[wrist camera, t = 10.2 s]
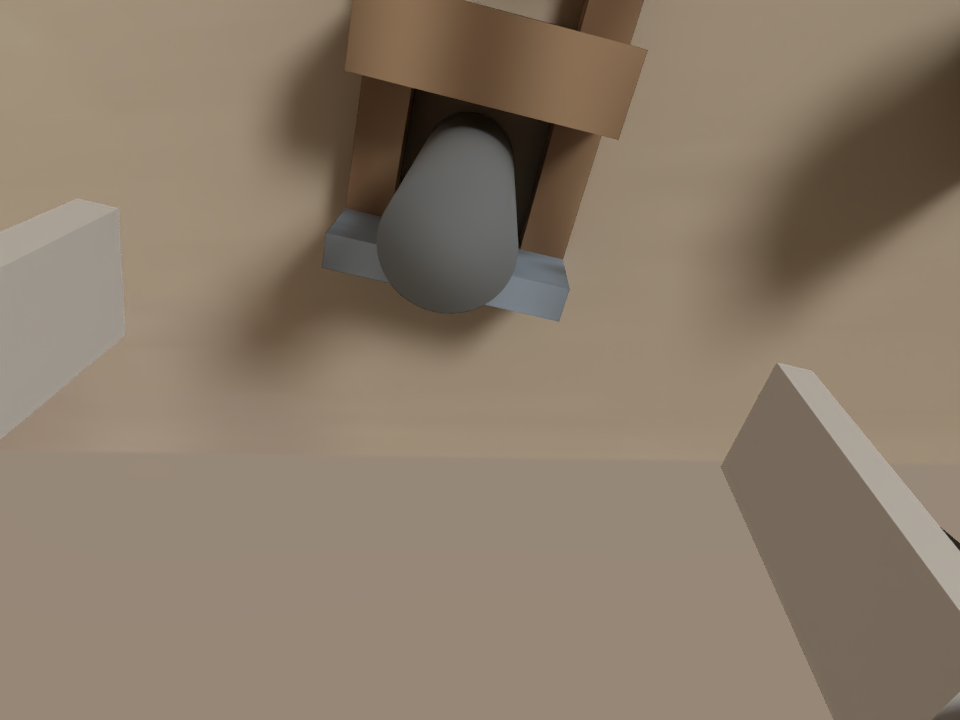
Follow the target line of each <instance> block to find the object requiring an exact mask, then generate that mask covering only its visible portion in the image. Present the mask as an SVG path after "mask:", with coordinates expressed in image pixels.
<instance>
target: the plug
mask: <svg viewBox="0 0 960 720" xmlns="http://www.w3.org/2000/svg"><path fill="white" fill-rule="evenodd" d="M376 243H377V254H378V259H379V262H380V265H381V268H382V270H383V272H384V274H385V276H386V278H387V279H388V281H389V283H390V284H391V285H392V286H393V287H394V289H395V290H396V291H397V292H398V293H399V294H400V295H401V296H403V297H404V298H405V299H407V300H408V301H410V302H411V303H413V304H415V305H417V306H419V307H421V308H424V309H426V310H430V311H433V312H439V313H462V312H467V311H470V310H473V309H476V308H479V307H481V306H483V305H485V304H486V303H488V302H490V301H491V300H492V299H494V298H495V297H496V296H497V295H498V294H499V293H500V292H501V291H502V290H503V289H504V288H505V286H506V285H507V284H508V282H509V280H510V279H511V277H512V275H513V272H514V270H515V267H516V263H517V258H518V230H517V213H516V195H515V177H514V160H513V150H512V145H511V143H510V140H509V138H508V136H507V134H506V133H505V131H504V130H503V129H502V127H501V126H500V125H499V124H498V123H497V122H495V121H494V120H492V119H491V118H489V117H487V116H485V115H482V114H479V113H474V112H462V113H457V114H454V115H451V116H449V117H447V118H445V119H444V120H442V121H441V122H440V123H439V124H438V125H437V126H436V127H435V128H434V129H433V131H432V132H431V134H430V135H429V137H428V139H427V140H426V142H425V144H424V145H423V147H422V149H421V151H420V152H419V154H418V156H417V157H416V159H415V161H414V162H413V164H412V166H411V167H410V169H409V171H408V172H407V174H406V176H405V178H404V179H403V181H402V183H401V184H400V186H399V188H398V189H397V191H396V193H395V194H394V196H393V198H392V199H391V201H390V203H389V205H388V206H387V208H386V210H385V212H384V213H383V215H382V218H381V220H380V223H379V227H378V231H377V240H376Z"/></svg>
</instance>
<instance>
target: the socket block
mask: <svg viewBox="0 0 960 720" xmlns="http://www.w3.org/2000/svg"><path fill="white" fill-rule="evenodd" d="M643 2H644V0H585V1H584V5H583V8H582V12H581V16H580V19H579V23H578V27H577V30H573V29H569V28H566V27H562V26H558V25H554V24H551V23H547V22H543V21H539V20H536V19H532V18H528V17H524V16H521V15H517V14H513V13H509V12H506V11H502V10H498V9H494V8H490V7H487V6H483V5H479V4H475V3H472V2H468V1H464V0H353V1H352V10H351V19H350V27H349V36H348V45H347V53H346V62H345V71H348V72H352V73H356V74H360V75H363V76H362V83H361V91H360V99H359V107H358V115H357V123H356V130H355V138H354V146H353V154H352V162H351V169H350V177H349V185H348V193H347V201H346V208H345V210H344V211H343V212H342V213H341V215H340V216H339V217H338V218H337V220H336V221H335V222H334V223H333V225H332V226H331V227H330V228H329V230H328V231H327V232H326V237H325V245H324V254H323V263H322V268H325V269H330V270H334V271H339V272H343V273H347V274H352V275H356V276H361V277H365V278H369V279H374V280H378V281H383V282H387V283H389V281H388V279H387V278H386V276H385V274H384V272H383V270H382V268H381V265H380V262H379V259H378V254H377V243H376V240H377V231H378V227H379V223H380V220H381V218H382V215H383V213H384V212H385V210H386V208H387V206H388V205H389V203H390V201H391V199H392V198H393V196H394V194H395V193H396V191H397V189H398V188H399V183H400V177H401V171H402V165H403V159H404V153H405V147H406V141H407V135H408V129H409V123H410V117H411V111H412V105H413V100H414V94H415V89H419V90H423V91H427V92H431V93H435V94H439V95H443V96H447V97H451V98H455V99H459V100H463V101H467V102H471V103H475V104H478V105H482V106H486V107H490V108H494V109H498V110H502V111H506V112H510V113H514V114H518V115H522V116H526V117H530V118H534V119H538V120H542V121H546V122H550V123H551V126H550V129H549V133H548V137H547V140H546V144H545V148H544V151H543V155H542V159H541V162H540V166H539V170H538V174H537V177H536V181H535V185H534V188H533V192H532V196H531V199H530V203H529V207H528V210H527V214H526V218H525V221H524V225H523V229H522V232H521V236H520V239H518V258H517V263H516V267H515V270H514V272H513V275H512V277H511V279H510V280H509V282H508V284H507V285H506V286H505V288H504V289H503V290H502V291H501V292H500V293H499V294H498V295H497V296H496V297H495V298H494V299H492V300H491V301H490V302H488V303H486V304H485V305H488V306H493V307H497V308H501V309H506V310H510V311H515V312H519V313H524V314H528V315H532V316H537V317H541V318H546V319H550V320H554V321H559V320H560V317H561V314H562V311H563V308H564V305H565V302H566V299H567V296H568V293H569V290H570V289H569V284H568V280H567V276H566V271H565V267H564V262H563V257H564V254H565V251H566V248H567V244H568V241H569V238H570V235H571V232H572V228H573V225H574V222H575V219H576V216H577V213H578V209H579V206H580V203H581V200H582V197H583V193H584V190H585V187H586V184H587V181H588V177H589V174H590V171H591V168H592V165H593V161H594V158H595V155H596V152H597V149H598V145H599V142H600V139H601V136H605V137H609V138H613V139H617V140H619V137H620V134H621V130H622V127H623V124H624V121H625V118H626V115H627V112H628V109H629V106H630V103H631V100H632V97H633V94H634V91H635V88H636V85H637V81H638V78H639V75H640V72H641V69H642V66H643V63H644V60H645V57H646V54H647V51H648V50H646V49H642V48H639V47H636V46H632V45H630V43H631V40H632V37H633V34H634V30H635V27H636V24H637V21H638V18H639V14H640V11H641V8H642V5H643Z"/></svg>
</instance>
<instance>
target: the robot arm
mask: <svg viewBox="0 0 960 720" xmlns="http://www.w3.org/2000/svg"><path fill="white" fill-rule="evenodd" d="M125 335H126V333H125V314H124V295H123V277H122V258H121V239H120V220H119V208H116V207H112V206H108V205H103V204H99V203H95V202H91V201H86V200H82V199H78V198H77V199H75V200H73V201H70V202H68V203H66V204H63V205H61V206H59V207H56V208H54V209H52V210H50V211H47V212H45V213H43V214H40V215H38V216H36V217H33V218H31V219H29V220H26V221H24V222H22V223H19V224H17V225H15V226H13V227H10V228H8V229H6V230H3V231H1V232H0V440H1V439H2V438H3V437H4V436H5V435H7V434H8V433H9V432H10V431H11V430H13V429H14V428H15V427H16V426H17V425H19V424H20V423H21V422H22V421H23V420H25V419H26V418H27V417H28V416H29V415H31V414H32V413H33V412H34V411H35V410H37V409H38V408H39V407H40V406H41V405H43V404H44V403H45V402H46V401H47V400H49V399H50V398H51V397H52V396H53V395H55V394H56V393H57V392H58V391H59V390H61V389H62V388H63V387H64V386H65V385H66V384H68V383H69V382H70V381H71V380H72V379H74V378H75V377H76V376H77V375H78V374H80V373H81V372H82V371H83V370H84V369H86V368H87V367H88V366H89V365H90V364H92V363H93V362H94V361H95V360H96V359H98V358H99V357H100V356H101V355H102V354H104V353H105V352H106V351H107V350H108V349H110V348H111V347H112V346H113V345H114V344H116V343H117V342H118V341H119V340H120V339H122V338H123V337H124V336H125ZM721 469H722V471H723V473H724V475H725V478H726V480H727V482H728V484H729V486H730V489H731V491H732V493H733V495H734V498H735V500H736V502H737V504H738V506H739V509H740V511H741V513H742V515H743V518H744V520H745V522H746V524H747V527H748V529H749V531H750V533H751V536H752V538H753V540H754V542H755V545H756V547H757V549H758V551H759V554H760V556H761V558H762V560H763V562H764V565H765V567H766V569H767V572H768V574H769V576H770V578H771V580H772V583H773V585H774V587H775V589H776V592H777V594H778V596H779V598H780V600H781V603H782V605H783V607H784V610H785V612H786V614H787V616H788V619H789V621H790V623H791V625H792V627H793V630H794V632H795V634H796V636H797V639H798V641H799V643H800V645H801V648H802V650H803V652H804V654H805V657H806V659H807V661H808V663H809V666H810V668H811V670H812V672H813V675H814V677H815V679H816V681H817V683H818V686H819V688H820V690H821V693H822V695H823V697H824V699H825V701H826V704H827V706H828V708H829V710H830V713H831V715H832V717H833V719H834V720H960V543H959V542H958V541H956V540H955V539H954V538H953V537H951V536H950V535H949V534H948V533H947V532H946V531H945V530H943V529H942V528H941V527H940V526H939V525H938V524H937V523H936V521H935V520H934V519H933V518H932V517H931V515H930V514H929V513H928V512H927V510H926V509H925V508H924V507H923V506H922V504H921V503H920V502H919V501H918V500H917V498H916V497H915V496H914V495H913V493H912V492H911V491H910V490H909V489H908V487H907V486H906V485H905V484H904V482H903V481H902V480H901V479H900V478H899V476H898V475H897V474H896V473H895V471H894V470H893V469H892V468H891V466H890V465H889V464H888V463H887V462H886V460H885V459H884V458H883V457H882V455H881V454H880V453H879V452H878V451H877V449H876V448H875V447H874V446H873V444H872V443H871V442H870V441H869V440H868V438H867V437H866V436H865V435H864V433H863V432H862V431H861V430H860V429H859V427H858V426H857V425H856V424H855V422H854V421H853V420H852V419H851V418H850V416H849V415H848V414H847V413H846V411H845V410H844V409H843V408H842V407H841V405H840V404H839V403H838V402H837V400H836V399H835V398H834V397H833V396H832V394H831V393H830V392H829V391H828V389H827V388H826V387H825V386H824V385H823V383H822V382H821V381H820V380H819V378H818V377H817V376H816V375H815V374H814V372H813V371H811V370H807V369H802V368H798V367H794V366H790V365H785V364H781V363H776V365H775V367H774V368H773V370H772V372H771V374H770V376H769V378H768V380H767V382H766V383H765V385H764V387H763V389H762V391H761V393H760V395H759V396H758V398H757V400H756V402H755V404H754V406H753V408H752V409H751V411H750V413H749V415H748V417H747V419H746V421H745V423H744V424H743V426H742V428H741V430H740V432H739V434H738V436H737V437H736V439H735V441H734V443H733V445H732V447H731V449H730V450H729V452H728V454H727V456H726V458H725V460H724V462H723V464H722V465H721Z"/></svg>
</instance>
